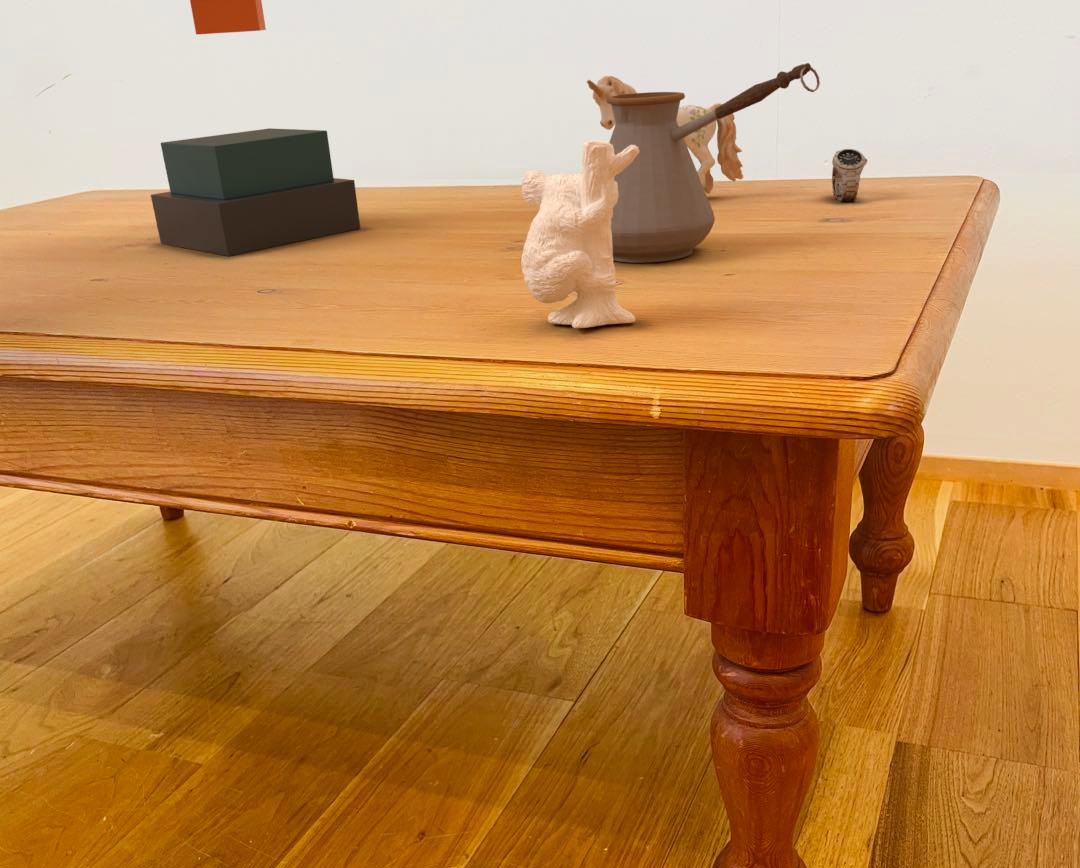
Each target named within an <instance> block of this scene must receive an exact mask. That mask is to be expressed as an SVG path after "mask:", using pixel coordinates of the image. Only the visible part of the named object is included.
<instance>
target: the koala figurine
mask: <svg viewBox="0 0 1080 868" xmlns="http://www.w3.org/2000/svg"><path fill="white" fill-rule="evenodd" d="M609 142H610V141H608V140H605V139H598V140H588V141H587V140H586V141H585V142H583V143H582V157H581V158H582V159H581V165H582V173H566V172H565V173H564V172H563V173H555V174H551V175H548V174H547V173H545V172H543V171H542V170H539V169H538V170H537V169H536V170H535V169H534V170H533V169H532V170H529V171H527V172H526V173H525V174H524V175H523V177H522V181H521V194H522V197H523V199H524V201H525V202H526V203H527V204H530V205H531V206H538V205H539V204H540V206H539V211H538V212H537V213H536V215H535V216H534V218H533V219H532V221H531V223H530V225H529V230H528V232H527V236H526V240H525V242H524V244H523V247H522V249H523V251H522V254H521V258H520V261H521V264H520V265H521V271H522V275H523V280H524V283H525V286H526V289H527V291H528V292H529V294H530V295H531V297H532V298H534V299H535V300H537V301H539V302H541V303H544V304H555V303H558V302H562V301H565V300H566V299H567V298H569V297H570V294H571V293H572V292H575V293H576V294H577V295H576V299H575V300H574V301H572V302H571V303H569V304H568V305H565V306H564V307H562V308H560V309H558V310H555V311H552V312H550V313H549V314H548V316H547V321H548V323H549V324H553V325H564V326H565V325H566V326H571V327H572V328H573V329H586V328H587V329H588V328H594V327H600V326H607V325H617V324H632V323H635V322H636V317H635V315H634V314H633V313H632V312H631V311H629V310H627V309H625V308H624V307H621V305H620V304H619V302H618V299H617V297H616V286H617V280H616V268H615V267H616V266H615V264H614V260H613V246H612V232H611V218H612V216H613V207H614V205H615V204H616V203H617V201H618V196H619V194H618V185H617V184H618V183H617V182H616V181H614V176H616V175H617V174H619V173H620V172H622V171H623V170H624V169H625V168H626V167H627V166H628V165H629V164H630V163H631V162H632V161H633V160H634V159H635V157H636V156H637V155H638V153H639V148H638V147H637V146H635V145H630V146H628V147H627V148H626V149H624V150H623V151H622V152H621V153H618V154H617V155H615V154H614V148H613V145H611V144H610V143H609Z"/></svg>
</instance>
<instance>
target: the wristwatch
mask: <svg viewBox="0 0 1080 868" xmlns="http://www.w3.org/2000/svg"><path fill="white" fill-rule="evenodd" d="M867 163H868V158H866V157H865V155H864V154H863V153H862V152H861V151H859V150H857V149H854V148H843V149H840V150H837V151H835V153H834V155H833V156H832V171H831V185H832V186H831V188H832V194H833V198H834V199H835V200H837V201H838V202H841V203H842V202H843V203H845V202H846V203H847V202H856V200H857V195H858V193H859V192H858V191H859V188H860V187H859V186H860V182H861V181H860V180H861V175H862V172H863V170H864V167H865V166H866V165H867Z"/></svg>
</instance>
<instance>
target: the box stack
mask: <svg viewBox="0 0 1080 868" xmlns="http://www.w3.org/2000/svg"><path fill="white" fill-rule="evenodd" d="M160 147H161V152H162V158H163V162H164V167H165V173H166V177H167V182H168V185H169V186H168V187H169V191H165V192H160V193H153V194H150V198H151V203H152V208H153V214H154V218H155V222H156V227H157V232H158V236H159V242H160V244H162V245H168V246H172V247H178V248H184V249H189V250H193V251H197V252H198V251H199V252H205V253H210V254H215V255H221V256H225V257H232V256H236V255H241V254H246V253H251V252H255V251H260V250H264V249H265V250H266V249H269V248H270V249H271V248H275V247H280V246H284V245H285V246H286V245H288V244H294V243H299V242H302V241H303V242H304V241H307V240H308V241H309V240H313V239H317V238H318V239H319V238H322V237H326V236H331V235H336V234H342V233H347V232H350V231H351V232H352V231H357V230H361V223H360V222H361V220H360V214H359V213H360V212H359V207H358V200H357V190H356V183H355V179H349V178H348V179H347V178H338V177H337V178H336V177H334V170H333V165H332V157H331V149H330V143H329V136H328V131H327V130H324V129H323V130H320V129H299V128H297V129H293V128H292V129H291V128H270V127H269V128H262V129H256V130H247V131H238V132H232V133H224V134H217V135H215V134H214V135H208V136H201V137H194V138H186V139H177V140H169V141H161V142H160Z"/></svg>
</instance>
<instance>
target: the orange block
mask: <svg viewBox="0 0 1080 868" xmlns="http://www.w3.org/2000/svg"><path fill="white" fill-rule="evenodd" d="M189 2H190V3H189V4H190V9H191V14H192V18H193V25H194V31H195V34H196V35H210V34H212V35H213V34H227V33H243V32H244V33H245V32H260V31H266V30H267V28H266V22H265V15H264V9H263V1H262V0H189Z"/></svg>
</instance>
